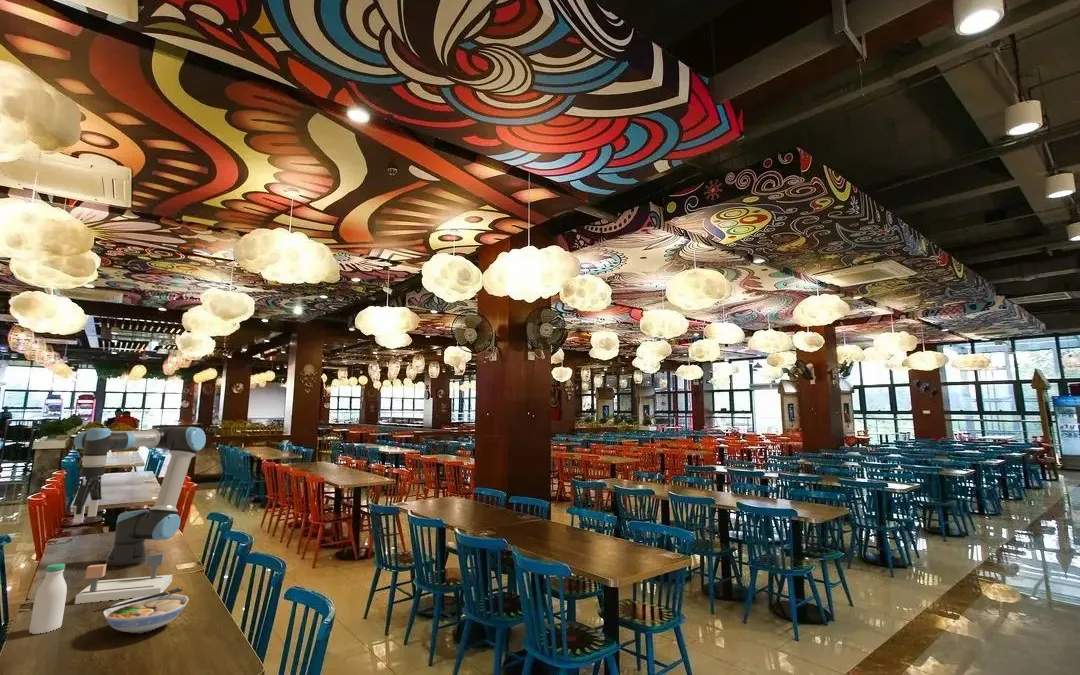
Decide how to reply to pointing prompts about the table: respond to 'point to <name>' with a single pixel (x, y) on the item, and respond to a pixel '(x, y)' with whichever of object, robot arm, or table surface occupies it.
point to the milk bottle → (49, 601)
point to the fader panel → (124, 589)
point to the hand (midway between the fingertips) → (85, 519)
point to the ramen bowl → (145, 612)
